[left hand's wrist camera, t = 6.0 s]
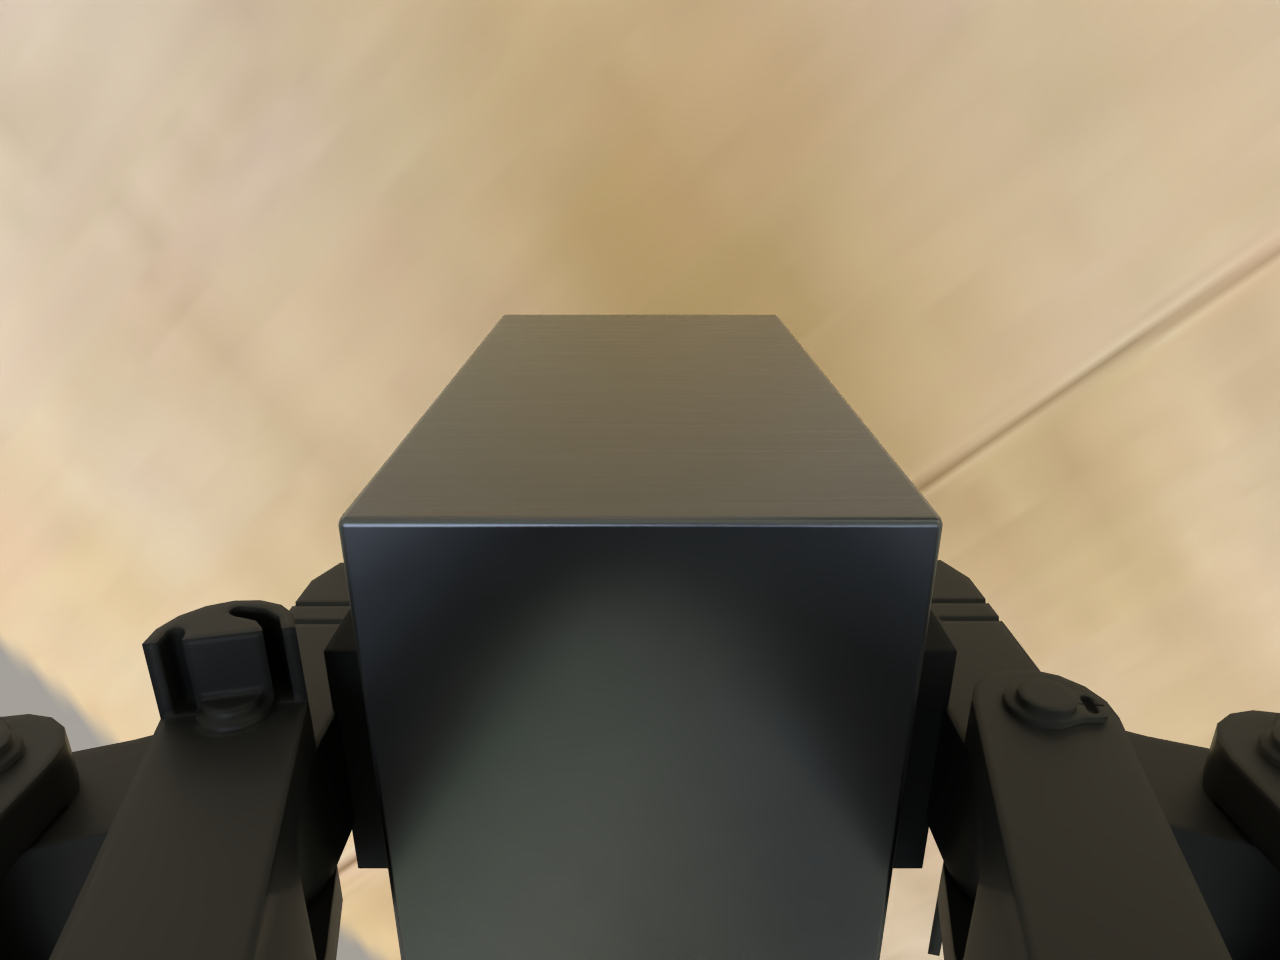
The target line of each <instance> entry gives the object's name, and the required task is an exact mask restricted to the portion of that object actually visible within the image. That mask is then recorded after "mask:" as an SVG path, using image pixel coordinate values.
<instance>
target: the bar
mask: <svg viewBox="0 0 1280 960" xmlns="http://www.w3.org/2000/svg"><path fill="white" fill-rule="evenodd" d="M942 525H943V524H942V521H941V518H940V517H939V515H938V514H937V513H936V512H935V511H934V509H933V508H932V507H931V506H930V504H929V503H928V502H927V501H926V499H925V498H924V497H923V496H922V494H921V493H920V492H919V491H918V490H917V488H916V487H915V486H914V485H913V483H912V482H911V481H910V480H909V478H908V477H907V476H906V475H905V473H904V472H903V471H902V470H901V469H900V467H899V466H898V465H897V464H896V462H895V461H894V460H893V459H892V457H891V456H890V455H889V454H888V452H887V451H886V450H885V449H884V448H883V446H882V445H881V444H880V443H879V441H878V440H877V439H876V438H875V436H874V435H873V434H872V433H871V431H870V430H869V429H868V428H867V426H866V425H865V424H864V423H863V422H862V420H861V419H860V418H859V417H858V415H857V414H856V413H855V412H854V410H853V409H852V408H851V407H850V405H849V404H848V403H847V402H846V401H845V399H844V398H843V397H842V396H841V394H840V393H839V392H838V391H837V389H836V388H835V387H834V386H833V384H832V383H831V382H830V381H829V380H828V378H827V377H826V376H825V375H824V373H823V372H822V371H821V370H820V368H819V367H818V366H817V365H816V363H815V362H814V361H813V360H812V359H811V357H810V356H809V355H808V354H807V352H806V351H805V350H804V349H803V347H802V346H801V345H800V344H799V342H798V341H797V340H796V339H795V337H794V336H793V335H792V334H791V333H790V331H789V330H788V329H787V328H786V326H785V325H784V324H783V323H782V321H781V320H780V319H779V318H778V316H776V315H505V316H503V317H502V318H501V320H500V321H499V322H498V323H497V325H496V326H495V327H494V328H493V329H492V331H491V332H490V333H489V334H488V336H487V337H486V338H485V339H484V341H483V342H482V343H481V344H480V346H479V347H478V348H477V349H476V351H475V352H474V353H473V354H472V356H471V357H470V358H469V359H468V360H467V362H466V363H465V364H464V365H463V367H462V368H461V369H460V370H459V372H458V373H457V374H456V375H455V377H454V378H453V379H452V380H451V382H450V383H449V384H448V385H447V387H446V388H445V389H444V390H443V391H442V393H441V394H440V395H439V396H438V398H437V399H436V400H435V401H434V403H433V404H432V405H431V406H430V408H429V409H428V410H427V411H426V413H425V414H424V415H423V416H422V418H421V419H420V420H419V421H418V422H417V424H416V425H415V426H414V427H413V429H412V430H411V431H410V432H409V434H408V435H407V436H406V437H405V439H404V440H403V441H402V442H401V444H400V445H399V446H398V447H397V449H396V450H395V451H394V452H393V453H392V455H391V456H390V457H389V458H388V460H387V461H386V462H385V463H384V465H383V466H382V467H381V468H380V470H379V471H378V472H377V473H376V475H375V476H374V477H373V478H372V480H371V481H370V482H369V483H368V485H367V486H366V487H365V488H364V489H363V491H362V492H361V493H360V494H359V496H358V497H357V498H356V499H355V501H354V502H353V503H352V504H351V506H350V507H349V508H348V509H347V511H346V512H345V513H344V514H343V516H342V517H341V518H340V521H339V531H340V538H341V545H342V552H343V559H344V566H345V573H346V580H347V587H348V594H349V600H350V607H351V614H352V621H353V628H354V635H355V642H356V649H357V656H358V663H359V670H360V677H361V684H362V691H363V698H364V704H365V711H366V718H367V725H368V732H369V739H370V746H371V753H372V760H373V767H374V774H375V781H376V788H377V795H378V801H379V808H380V815H381V822H382V829H383V836H384V843H385V850H386V857H387V864H388V871H389V878H390V885H391V892H392V898H393V905H394V912H395V919H396V926H397V933H398V940H399V947H400V954H401V960H879V959H880V952H881V945H882V938H883V932H884V925H885V918H886V911H887V904H888V897H889V890H890V883H891V876H892V869H893V863H894V856H895V849H896V842H897V835H898V828H899V821H900V814H901V807H902V801H903V794H904V787H905V780H906V773H907V766H908V759H909V752H910V745H911V739H912V732H913V725H914V718H915V711H916V704H917V697H918V690H919V683H920V676H921V670H922V663H923V656H924V649H925V642H926V635H927V628H928V621H929V614H930V608H931V601H932V594H933V587H934V580H935V573H936V566H937V559H938V552H939V545H940V539H941V532H942Z"/></svg>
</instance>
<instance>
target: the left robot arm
mask: <svg viewBox="0 0 1280 960" xmlns="http://www.w3.org/2000/svg"><path fill="white" fill-rule="evenodd" d="M142 646H143V650H144V654H145V658H146V662H147V666H148V670H149V674H150V678H151V682H152V686H153V690H154V694H155V697H156V701H157V705H158V709H159V713H160V717H161V720H160V722H159V724H158V726H157V728H156V730H155V733H154V735H152V736H148V737H144V738H140V739H136V740H132V741H126V742H121V743H116V744H111V745H106V746H101V747H96V748H91V749H86V750H81V751H76V752H72V751H71V747H70V744H69V741H68V738H67V734H66V731H65V728H64V727H63V726H62V725H61V724H59V723H58V722H57V721H55V720H54V719H53V718H51V717H45V716H38V715H32V714H25V715H16V716H6V717H0V960H336V955H337V946H338V937H339V928H340V919H341V911H342V902H343V899H342V892H341V886H340V880H339V874H338V868H337V864H338V861H339V859H340V857H341V854H342V852H343V850H344V847H345V845H346V842H347V840H348V838H349V835H350V833H351V831H352V832H353V838H354V844H355V850H356V856H357V862H358V868H388V864H387V857H386V850H385V843H384V836H383V829H382V822H381V815H380V808H379V801H378V795H377V788H376V781H375V774H374V767H373V760H372V753H371V746H370V739H369V732H368V725H367V718H366V711H365V704H364V698H363V691H362V684H361V677H360V670H359V663H358V656H357V649H356V642H355V635H354V628H353V621H352V614H351V607H350V600H349V594H348V587H347V580H346V573H345V566H344V563H339V564H338V565H336V566H335V567H333V568H331V569H330V570H328V571H327V572H325V573H324V574H322V575H320V576H319V577H317V578H316V579H314V580H312V581H311V582H310V584H309V585H308V586H307V588H306V589H305V590H304V592H303V593H302V594H301V596H300V597H299V598H298V600H297V601H296V606H292V608H291V609H290V610H287V609H286V608H285V607H283V606H282V605H279V604H275V603H270V602H266V601H261V600H253V601H231V602H226V603H220V604H215V605H210V606H205V607H203V608H200V609H197V610H194V611H191V612H189V613H186V614H183V615H180V616H178V617H176V618H175V619H173V620H171V621H169V622H168V623H166V624H164V625H163V626H161V627H159V628H157V629H156V630H155V631H154V632H153V633H152V634H151V635H150V636H149V637H148V638H147V640H146V641H145V642H144V643H143V644H142ZM929 827H930V830H931V832H932V834H933V837H934V839H935V842H936V844H937V846H938V849H939V851H940V853H941V856H942V858H943V860H944V862H943V868H942V874H941V880H940V885H939V891H938V897H937V903H936V908H935V914H934V920H933V926H932V931H931V937H930V944H929V950H928V954H932V955H937V956H939V954H940V949H941V944H943V953H944V960H1280V713H1273V712H1264V711H1254V710H1252V711H1246V712H1239V713H1232V714H1229V715H1228V716H1227V717H1225V718H1224V719H1223V720H1221V721H1220V722H1219V723H1218V724H1217V727H1216V730H1215V733H1214V737H1213V740H1212V743H1211V747H1210V749H1208V748H1203V747H1198V746H1193V745H1188V744H1183V743H1178V742H1173V741H1168V740H1163V739H1158V738H1153V737H1147V736H1143V735H1140V734H1136V733H1132V732H1128V731H1125V729H1124V727H1123V725H1122V723H1121V720H1120V718H1119V717H1118V716H1117V714H1116V713H1115V712H1114V710H1113V709H1112V708H1111V707H1110V705H1109V704H1108V703H1107V702H1106V701H1105V700H1104V699H1102V698H1101V697H1099V696H1098V695H1096V694H1095V693H1094V692H1092V691H1091V690H1089V689H1088V688H1086V687H1085V686H1082V685H1080V684H1077V683H1075V682H1073V681H1070V680H1068V679H1066V678H1063V677H1061V676H1058V675H1053V674H1049V673H1044V672H1040V670H1039V669H1038V668H1037V666H1036V665H1035V664H1034V662H1033V661H1032V660H1031V658H1030V657H1029V656H1028V654H1027V653H1026V652H1025V651H1024V649H1023V648H1022V647H1021V645H1020V644H1019V643H1018V641H1017V640H1016V639H1015V637H1014V636H1013V635H1012V633H1011V632H1010V631H1009V630H1008V628H1007V627H1006V626H1005V624H1004V623H1003V622H1002V621H999V616H998V615H997V614H996V612H995V611H994V610H993V609H992V607H991V606H990V605H989V603H985V598H984V597H983V595H982V594H981V593H980V591H979V590H978V589H977V588H976V586H975V585H974V584H973V582H972V581H971V580H970V578H968V577H967V576H965V575H963V574H962V573H960V572H959V571H957V570H955V569H954V568H952V567H951V566H949V565H947V564H946V563H944V562H943V561H941V560H937V566H936V573H935V580H934V587H933V594H932V601H931V608H930V614H929V621H928V628H927V635H926V642H925V649H924V656H923V663H922V670H921V676H920V683H919V690H918V697H917V704H916V711H915V718H914V725H913V732H912V739H911V745H910V752H909V759H908V766H907V773H906V780H905V787H904V794H903V801H902V807H901V814H900V821H899V828H898V835H897V842H896V849H895V856H894V863H893V868H922V866H923V860H924V854H925V847H926V841H927V835H928V829H929Z"/></svg>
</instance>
